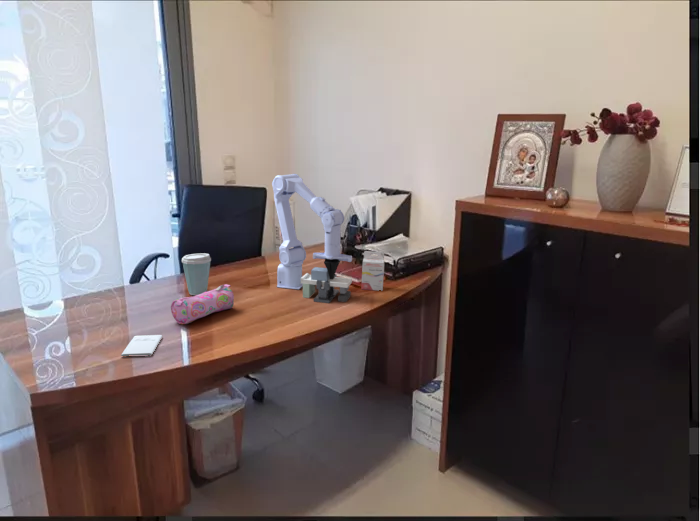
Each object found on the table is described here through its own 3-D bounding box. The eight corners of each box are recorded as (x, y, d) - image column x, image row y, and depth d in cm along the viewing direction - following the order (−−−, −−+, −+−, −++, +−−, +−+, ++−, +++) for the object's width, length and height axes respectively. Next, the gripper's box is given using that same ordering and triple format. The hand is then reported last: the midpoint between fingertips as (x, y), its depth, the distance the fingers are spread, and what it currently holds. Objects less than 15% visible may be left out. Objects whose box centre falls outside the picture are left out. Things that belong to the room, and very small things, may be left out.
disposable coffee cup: (177, 295, 186) (174, 256, 182) (196, 286, 196) (193, 249, 192) (200, 299, 182) (198, 259, 178) (218, 290, 192) (216, 253, 188)
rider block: (311, 280, 185) (311, 270, 184) (314, 277, 190) (314, 267, 189) (326, 282, 184) (326, 271, 183) (330, 278, 188) (330, 268, 187)
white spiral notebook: (121, 359, 137) (134, 340, 149) (152, 358, 138) (162, 339, 150) (120, 354, 137) (133, 335, 149) (151, 352, 138) (162, 334, 150)
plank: (299, 290, 185) (299, 279, 183) (308, 282, 194) (308, 271, 193) (346, 295, 180) (346, 283, 179) (352, 287, 190) (353, 276, 188)
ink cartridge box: (361, 289, 196) (362, 253, 192) (362, 285, 201) (363, 250, 197) (382, 291, 196) (384, 254, 192) (383, 287, 200) (384, 251, 196)
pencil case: (220, 304, 178) (219, 280, 176) (238, 309, 173) (237, 285, 171) (169, 322, 161) (167, 296, 159) (187, 329, 156) (185, 302, 154)
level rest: (302, 297, 187) (302, 283, 185) (308, 291, 193) (308, 278, 192) (309, 298, 186) (309, 284, 184) (315, 292, 192) (315, 278, 191)
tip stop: (338, 301, 183) (338, 296, 183) (343, 295, 190) (343, 290, 189) (345, 302, 183) (345, 297, 182) (350, 296, 189) (350, 291, 189)
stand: (313, 301, 183) (313, 282, 180) (324, 290, 195) (324, 272, 193) (329, 303, 181) (329, 283, 179) (338, 292, 193) (339, 273, 191)
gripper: (310, 243, 180) (310, 279, 183) (348, 247, 176) (348, 283, 180) (316, 239, 186) (316, 274, 190) (353, 242, 183) (352, 278, 187)
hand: (332, 278), depth 185 cm, fingers closed
